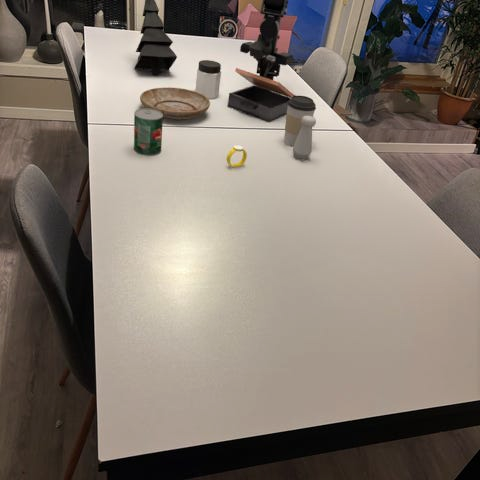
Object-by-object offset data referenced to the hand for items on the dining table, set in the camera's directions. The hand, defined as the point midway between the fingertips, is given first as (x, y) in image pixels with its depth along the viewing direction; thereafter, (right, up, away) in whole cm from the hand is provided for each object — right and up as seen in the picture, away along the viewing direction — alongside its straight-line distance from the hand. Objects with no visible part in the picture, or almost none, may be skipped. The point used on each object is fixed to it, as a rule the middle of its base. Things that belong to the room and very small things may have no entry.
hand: (262, 78), depth 178 cm
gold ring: (-9, -36, -33) cm, 50 cm away
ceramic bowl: (-31, -14, -5) cm, 34 cm away
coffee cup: (+10, -26, -14) cm, 31 cm away
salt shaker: (+11, -32, -22) cm, 40 cm away
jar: (-21, -3, +13) cm, 25 cm away
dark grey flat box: (-1, -9, +8) cm, 12 cm away
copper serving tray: (+1, -1, +3) cm, 4 cm away
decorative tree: (-45, +13, +30) cm, 55 cm away
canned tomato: (-35, -31, -32) cm, 57 cm away
